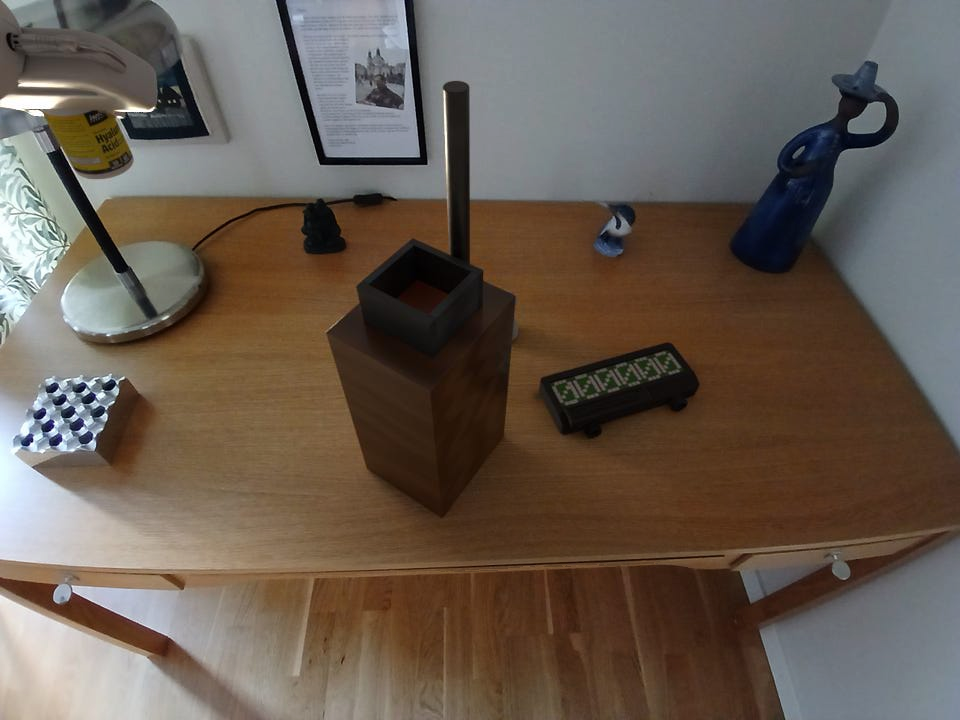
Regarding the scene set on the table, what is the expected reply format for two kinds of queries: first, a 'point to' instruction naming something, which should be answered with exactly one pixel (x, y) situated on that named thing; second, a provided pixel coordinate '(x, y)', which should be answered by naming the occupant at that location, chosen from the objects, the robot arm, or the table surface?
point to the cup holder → (429, 349)
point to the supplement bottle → (90, 142)
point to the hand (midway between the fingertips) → (80, 108)
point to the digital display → (618, 388)
